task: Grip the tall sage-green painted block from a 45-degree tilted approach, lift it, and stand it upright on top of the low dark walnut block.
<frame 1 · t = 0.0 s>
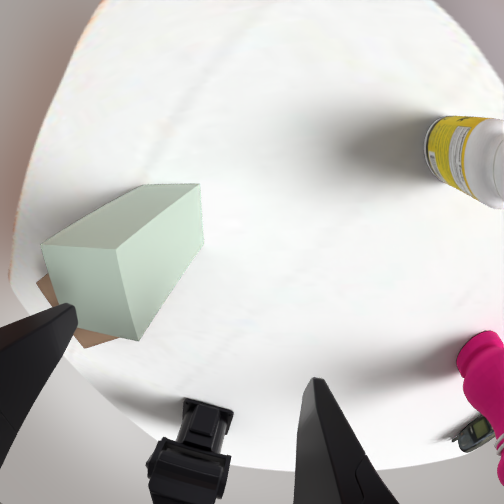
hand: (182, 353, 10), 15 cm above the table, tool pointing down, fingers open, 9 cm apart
tall block: (172, 214, 24), on the table
pepper mill: (477, 349, 26), on the table
mobile phone: (485, 413, 31), on the table
supplement bottle: (449, 148, 18), on the table
walnut block: (100, 285, 29), on the table
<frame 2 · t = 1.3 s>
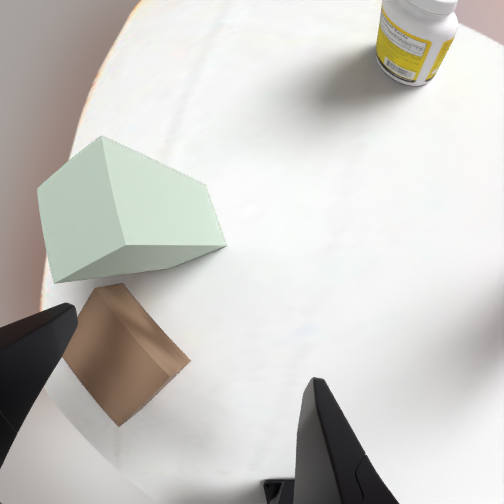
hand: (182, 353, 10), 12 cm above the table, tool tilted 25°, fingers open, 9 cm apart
tall block: (187, 226, 23), on the table
supplement bottle: (404, 63, 18), on the table
walnut block: (131, 350, 25), on the table
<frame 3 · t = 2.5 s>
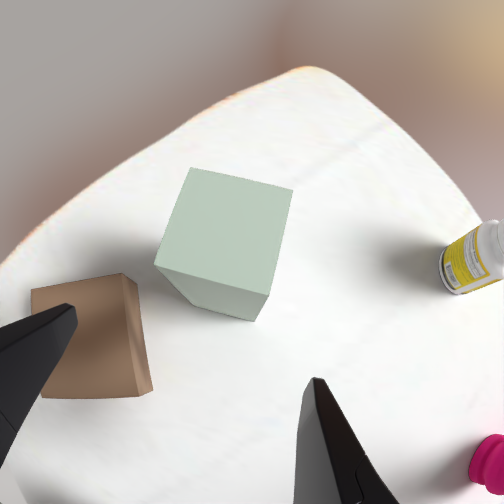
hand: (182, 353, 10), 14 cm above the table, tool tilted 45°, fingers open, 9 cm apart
tall block: (231, 284, 24), on the table
pepper mill: (485, 457, 19), on the table
supplement bottle: (454, 270, 26), on the table
walnut block: (98, 342, 22), on the table
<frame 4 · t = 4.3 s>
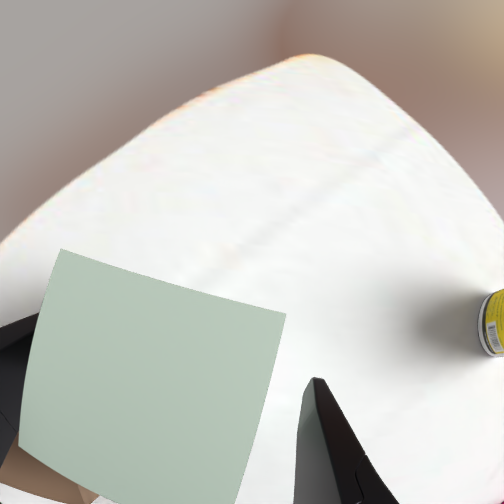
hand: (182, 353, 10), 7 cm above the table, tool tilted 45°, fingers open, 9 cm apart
tall block: (200, 368, 16), on the table
supplement bottle: (493, 325, 18), on the table
walnut block: (43, 421, 14), on the table
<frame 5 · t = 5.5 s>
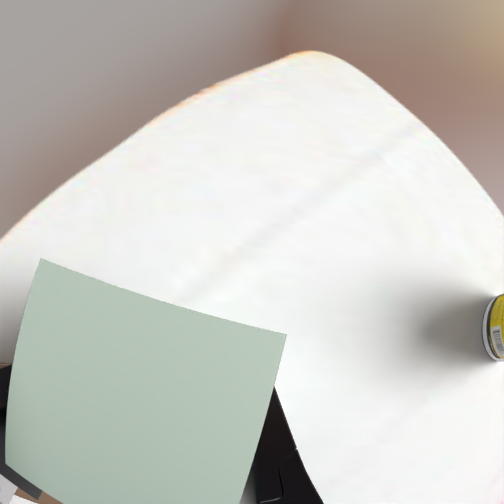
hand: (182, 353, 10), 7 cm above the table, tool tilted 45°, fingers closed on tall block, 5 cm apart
tall block: (197, 375, 15), on the table, touching gripper
supplement bottle: (497, 328, 17), on the table
walnut block: (39, 426, 13), on the table
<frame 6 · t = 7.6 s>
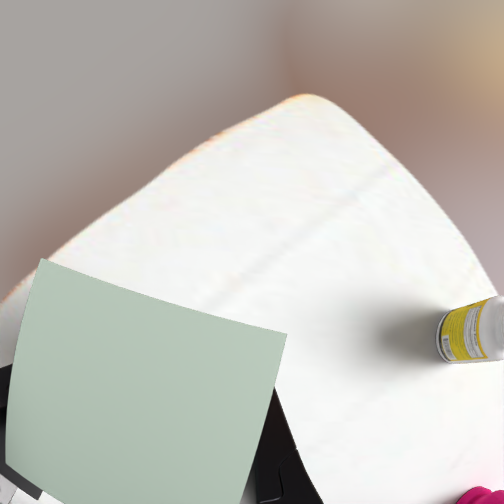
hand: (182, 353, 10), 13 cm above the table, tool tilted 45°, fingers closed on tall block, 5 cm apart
tall block: (198, 374, 15), point 7 cm above the table, touching gripper
supplement bottle: (452, 336, 23), on the table
when the fingers open (12 cm above the table, at t = 10.3 s): tall block drops 2 cm, resting on walnut block.
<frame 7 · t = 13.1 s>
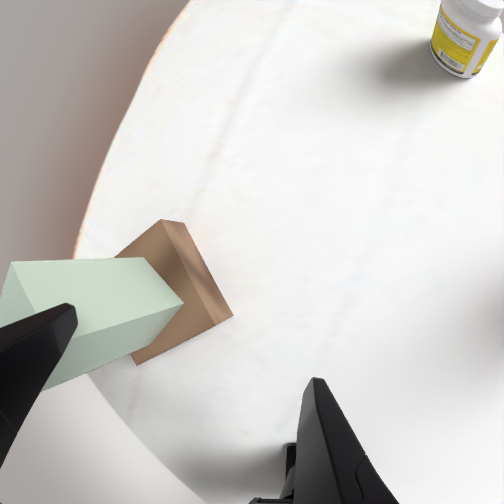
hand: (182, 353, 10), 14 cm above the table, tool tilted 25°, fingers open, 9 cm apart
tall block: (146, 301, 22), point 4 cm above the table, touching walnut block
supplement bottle: (454, 58, 18), on the table
walnut block: (171, 292, 26), on the table, touching tall block
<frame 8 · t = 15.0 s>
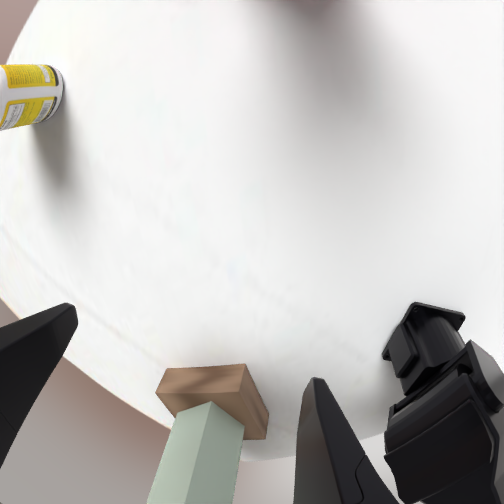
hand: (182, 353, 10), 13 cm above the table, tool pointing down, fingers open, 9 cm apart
tall block: (210, 420, 27), point 4 cm above the table, touching walnut block
supplement bottle: (46, 93, 19), on the table
walnut block: (219, 391, 30), on the table, touching tall block
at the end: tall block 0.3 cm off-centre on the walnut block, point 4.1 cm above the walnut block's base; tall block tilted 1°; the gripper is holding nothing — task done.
